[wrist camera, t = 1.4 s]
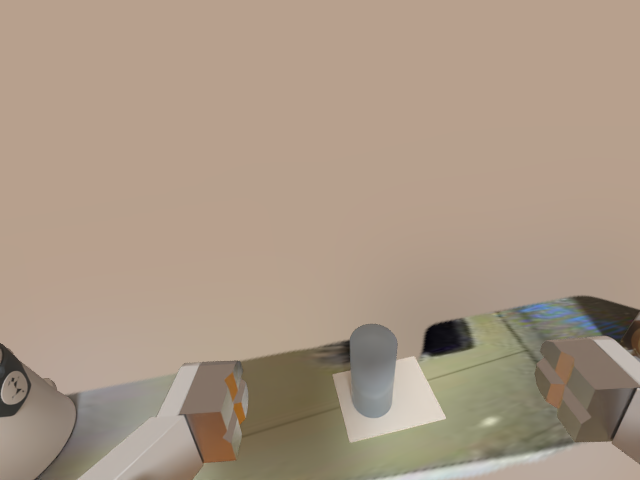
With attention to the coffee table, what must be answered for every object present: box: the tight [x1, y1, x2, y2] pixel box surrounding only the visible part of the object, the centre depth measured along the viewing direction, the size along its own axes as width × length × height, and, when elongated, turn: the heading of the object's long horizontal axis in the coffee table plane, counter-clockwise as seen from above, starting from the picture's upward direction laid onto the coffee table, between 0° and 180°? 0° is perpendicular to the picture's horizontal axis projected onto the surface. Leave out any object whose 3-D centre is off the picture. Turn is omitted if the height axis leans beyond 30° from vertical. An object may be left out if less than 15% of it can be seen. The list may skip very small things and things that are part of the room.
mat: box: [332, 356, 446, 443], centre depth 47 cm, size 13×10×1 cm
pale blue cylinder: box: [350, 324, 397, 418], centre depth 43 cm, size 6×6×12 cm
